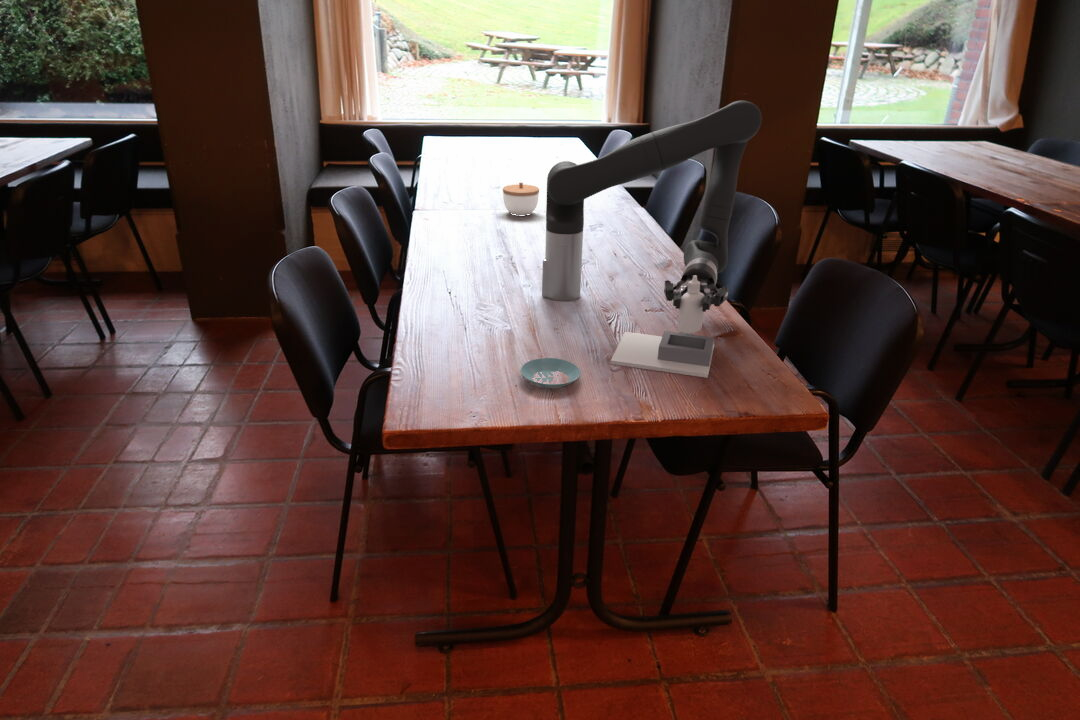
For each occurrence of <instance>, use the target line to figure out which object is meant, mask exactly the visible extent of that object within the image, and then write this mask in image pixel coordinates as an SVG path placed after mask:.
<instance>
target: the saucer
mask: <svg viewBox="0 0 1080 720" xmlns="http://www.w3.org/2000/svg"><path fill="white" fill-rule="evenodd" d="M556 371H559V372H563V373H564V374H566V375H567V376H568V377H569V382H568V383H564V384H554V383H553V384H543V382H546V381H547V379H549V383H550V382H551V381H552V380H553V378H554V377H548V374H549V375H551V376H553V374H552V373H551V372H556ZM520 372H521V375H522V376H523V377H524V378H525V379H526V380H527V381H529V382H530V383H531V384H533V385H535V386H538V387H541V388H546V389H558V387H559V388H562V387H563V388H564V387H565V386H568V385H570V384H571V383H574V382H575V381H576V380H577V379H579V377H580V376H581V369H580V367H578V366H577V365H576V364H575V363H573V362H571V361H570V360H569V361H568V360H566V359H562V358H557V357H541V358H535V359H531V360H528V361H526V362H525V363H523V365H522V366H521V367H520ZM537 372H538V375H539V376H540V377H541V378H542V374H543V375H544V376H545V377H546V378H542V380H543V381H542V383H538V382H534V381H533V380H532V378H534V377H533V376H534V374H535V373H537ZM540 372H542V374H541V373H540ZM547 373H548V374H547ZM557 376H558V375H557ZM541 378H535V379H537V381H539V380H540V379H541Z"/></svg>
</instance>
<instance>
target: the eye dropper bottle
mask: <svg viewBox="0 0 1080 720" xmlns="http://www.w3.org/2000/svg"><path fill="white" fill-rule="evenodd" d="M704 297H705V295H704V294H703V293H701V292H700V282H699V281H697V276H696V275H694V276H693V279H692V280H691V281H689V282H688V292H686V293H685V294H684V295H683V296H682V297H681V299H680V307H679V309H678V318H677V329H676V330H677V331H678V333H683V334H694V333H697V332H699V331H700V330H701V329H702V328H703V321H704V320H703V319H704V312H702V308H703V301H704Z"/></svg>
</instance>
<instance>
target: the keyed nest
mask: <svg viewBox="0 0 1080 720" xmlns="http://www.w3.org/2000/svg"><path fill="white" fill-rule="evenodd" d="M714 339H715V337H713V336H706V335H700V334H699V335H697V334H693V333H690V334H683V333H681V332H676V331H668V330H664V332H663V334H662V336H660V335H654V334H646V333H638V332H629V331H624V333H623V335H622V337H621V338H620V341H619V342H618V345H617V347H616V349H615V351H614V353H613V355H612V357H611V360H610V364H611V365H615V364H616V365H615V366H624V367H630V368H638V369H642V370H643V369H645V370H650V371H651V370H652V371H657V372H664V373H665V372H666V373H671V374H677V375H678V374H679V375H685V376H693V377H700V378H705V379H708V378H709V373H710V368H711V364H712V358H713V355H714V354H713V353H714V349H715V343H714Z"/></svg>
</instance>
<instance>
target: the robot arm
mask: <svg viewBox="0 0 1080 720" xmlns="http://www.w3.org/2000/svg"><path fill="white" fill-rule="evenodd" d="M762 121H763V117H762V112H761V110H760V108H759V107H758V106H757V105H756V104H754V103H753V102H751V101H747V100H736V101H733V102H731V103H729V104H727V105H726V106H724V107H722V108H719V109H717V110H716V111H713V112H711V113H709V114H707V115H705V116H703V117H700V118H697V119H694V120H690V121H687V122H683V123H678V124H675V125H671V126H667V127H664V128H661V129H658V130H655V131H652V132H649V133H646V134H643V135H640V136H637V137H635V138H633V139H631V140H629V141H627V142H625V143H623V144H622V145H620V146H618V147H617V148H615V149H614V150H612V151H610V152H608V153H607V154H605V155H603V156H601V157H599V158H596V159H594V160H590V161H587V162H584V163H580V164H577V163H575V162H573V161H570V160H569V161H568V160H565V161H559V162H558V163H556V164H555V165H553V166H552V167H551V168H550V170H549V172H548V174H547V176H546V177H547V179H546V207H545V214H546V215H545V254H544V255H545V258H544V259H543V260H542V277H541V279H542V281H541V283H542V285H541V297H545V298H547V299H550V300H554V301H562V302H564V301H565V302H567V301H574V300H576V299H579V298H580V296H581V290H582V289H581V287H582V286H581V285H582V284H581V283H582V268H583V267H582V263H583V261H582V260H583V241H584V226H585V225H584V221H585V214H584V212H585V211H584V210H585V209H584V207H585V200H586V199H588V198H590V197H592V196H595V195H596V194H598V193H600V192H603V191H605V190H607V189H610V188H612V187H615V186H620V185H624V184H626V183H630V182H633V181H636V180H638V179H642V178H645V177H649V176H651V175H652V176H653V175H654V174H658V173H660V172H663V171H666V170H668V169H671V168H673V167H676V166H677V165H680V164H682V163H684V162H686V161H688V160H689V159H692V158H693V157H696V156H697V155H699V154H701V153H703V152H706V151H709V150H711V149H712V150H713V149H715V151H714V159H713V163H712V168H711V171H710V172H711V173H710V176H709V180H708V184H707V189H706V191H705V192H706V193H705V195H704V196H705V197H704V199H703V204H702V208H701V212H700V217H699V221H698V226H699V228H700V229H701V230H703V231H706V232H708V233H710V234H712V235H713V236H715V238H716V243H715V242H712V241H706V240H705V241H704V240H701V239H700V240H699V239H693V240H691V241H688V243H687V244H686V246H685V249H684V250H683V262H684V267H685V268H684V270H683V272H682V275H681V278H680V280H679V281H678V282H677V283H674V282H671V281H670V280H664V286H663V287H664V289H663V294H664V296H665V299H666V301H668V302H672V306H673V307H675V309H677V310H679V307H680V299H681V297H682V296H683V295H684V294H685V293H686V292H688V282H689V281H691V280H692V279H693V276H694V275H696V276H697V281H699V282H700V292H701V293H703V294H704V295H705V297H704V301H703V308H702V312H707V311H709V310H710V309H711V307H712V305H714V306H715V307H720V306H722V304H724V302H726V301H727V300H728V295H729V286H722V288H721V287H720V288H717V286H716V284H717V282H718V281H717V280H718V274H721V273H722V272H724V270H726V268H727V266H728V263H729V249H728V248H729V246H728V243H729V242H728V241H729V239H728V235H729V228H730V222H731V218H732V214H733V209H734V206H735V200H736V193H737V186H738V184H737V183H738V176H739V170H740V164H741V161H742V159H743V158H742V157H743V155H744V152H745V149H746V147H747V144H748V142H749V141H750V140H751V139H752V138H753V137H754V136H756V135H757V133H758V131H759V130H760V128H761V125H762Z"/></svg>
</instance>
